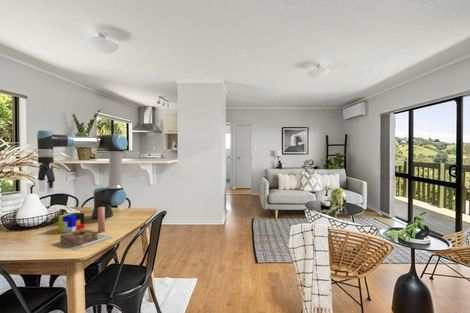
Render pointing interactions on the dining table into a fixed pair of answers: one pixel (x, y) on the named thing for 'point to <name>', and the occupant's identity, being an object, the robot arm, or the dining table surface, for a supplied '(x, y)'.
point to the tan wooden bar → (101, 219)
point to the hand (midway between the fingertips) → (46, 192)
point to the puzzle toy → (71, 222)
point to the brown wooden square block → (78, 237)
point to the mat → (83, 244)
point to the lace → (94, 241)
